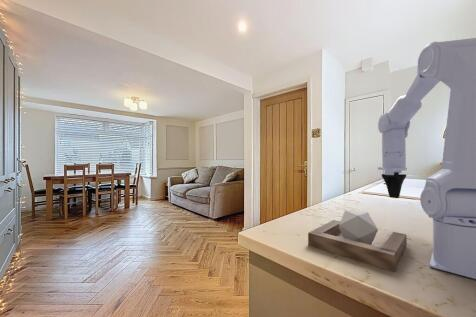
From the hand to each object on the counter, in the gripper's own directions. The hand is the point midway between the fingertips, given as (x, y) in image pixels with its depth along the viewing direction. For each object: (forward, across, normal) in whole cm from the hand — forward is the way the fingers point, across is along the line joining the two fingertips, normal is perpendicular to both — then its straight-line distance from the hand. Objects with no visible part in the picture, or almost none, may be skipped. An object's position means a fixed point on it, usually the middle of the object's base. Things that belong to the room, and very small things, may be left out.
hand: (394, 197), depth 63 cm
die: (+10, +21, -4) cm, 23 cm away
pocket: (+9, +22, -4) cm, 24 cm away
